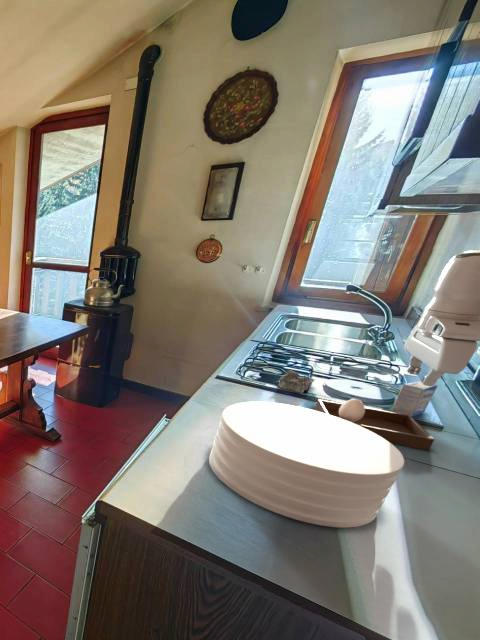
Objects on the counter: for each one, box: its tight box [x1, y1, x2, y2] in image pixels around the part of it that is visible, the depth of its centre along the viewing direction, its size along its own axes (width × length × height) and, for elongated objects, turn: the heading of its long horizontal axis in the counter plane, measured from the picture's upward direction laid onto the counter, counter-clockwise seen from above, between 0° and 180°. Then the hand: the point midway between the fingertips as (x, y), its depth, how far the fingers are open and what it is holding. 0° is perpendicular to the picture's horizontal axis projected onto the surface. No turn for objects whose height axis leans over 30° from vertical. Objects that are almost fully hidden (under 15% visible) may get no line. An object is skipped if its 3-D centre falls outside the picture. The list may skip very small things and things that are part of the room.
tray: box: [313, 398, 435, 451], centre depth 102 cm, size 19×14×3 cm
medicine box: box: [390, 380, 438, 418], centre depth 110 cm, size 8×4×9 cm, turn 114°
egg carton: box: [277, 369, 316, 393], centre depth 127 cm, size 11×8×4 cm
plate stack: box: [208, 401, 405, 529], centre depth 80 cm, size 28×28×12 cm
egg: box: [339, 398, 366, 423], centre depth 103 cm, size 5×5×7 cm
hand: (419, 379), depth 95 cm, fingers open, 7 cm apart
